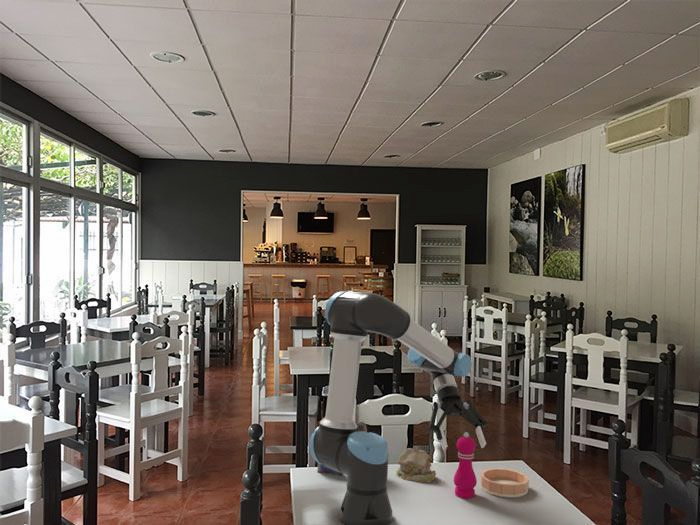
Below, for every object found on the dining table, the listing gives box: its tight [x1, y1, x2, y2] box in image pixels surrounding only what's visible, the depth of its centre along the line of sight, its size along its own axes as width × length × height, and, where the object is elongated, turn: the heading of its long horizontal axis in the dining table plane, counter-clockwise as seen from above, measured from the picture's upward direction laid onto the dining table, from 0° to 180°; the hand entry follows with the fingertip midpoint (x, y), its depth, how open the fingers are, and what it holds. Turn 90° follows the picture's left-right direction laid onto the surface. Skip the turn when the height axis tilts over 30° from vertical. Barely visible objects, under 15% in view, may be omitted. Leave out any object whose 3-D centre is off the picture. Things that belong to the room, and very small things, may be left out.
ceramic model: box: [396, 446, 437, 483], centre depth 208 cm, size 14×11×10 cm
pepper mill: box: [453, 431, 478, 499], centre depth 192 cm, size 7×7×20 cm
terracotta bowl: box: [479, 467, 530, 499], centre depth 198 cm, size 15×15×4 cm
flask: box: [316, 463, 343, 476], centre depth 209 cm, size 9×3×11 cm, turn 72°
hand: (464, 447), depth 196 cm, fingers open, 13 cm apart
